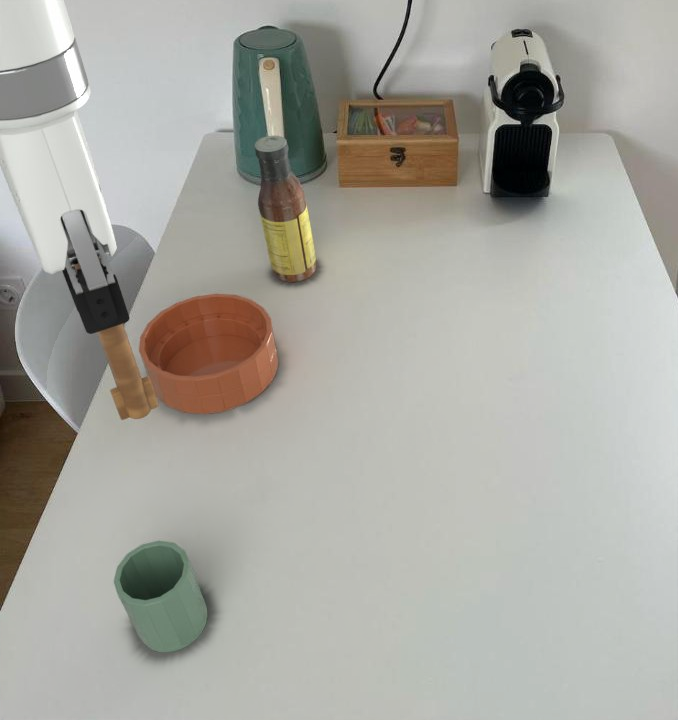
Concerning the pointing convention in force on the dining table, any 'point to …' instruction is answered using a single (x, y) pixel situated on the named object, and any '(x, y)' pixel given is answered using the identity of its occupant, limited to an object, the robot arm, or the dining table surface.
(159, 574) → the crock
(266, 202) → the sauce bottle
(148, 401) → the wooden dowel rod
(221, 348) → the bowl
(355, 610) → the dining table surface
